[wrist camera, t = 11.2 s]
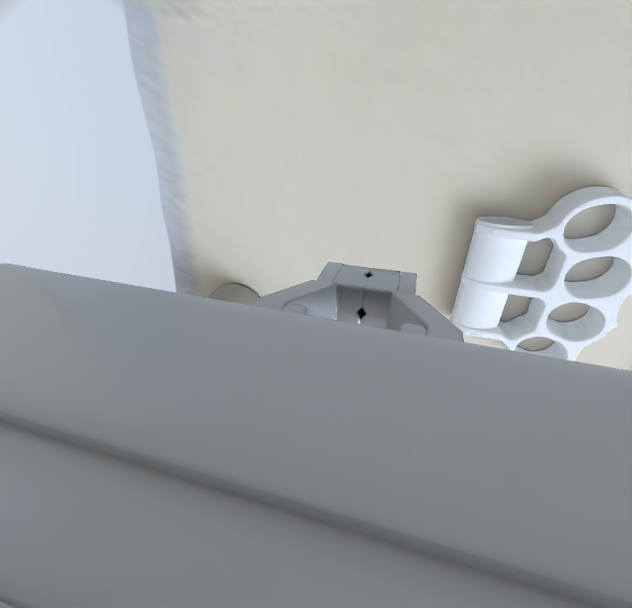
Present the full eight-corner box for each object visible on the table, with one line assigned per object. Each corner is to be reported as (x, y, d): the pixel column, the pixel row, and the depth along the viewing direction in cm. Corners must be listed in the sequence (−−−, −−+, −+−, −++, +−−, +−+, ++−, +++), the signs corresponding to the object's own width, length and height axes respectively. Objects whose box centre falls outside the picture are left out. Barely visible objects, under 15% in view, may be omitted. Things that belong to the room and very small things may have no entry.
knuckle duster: (484, 177, 30) (683, 191, 27) (442, 340, 40) (586, 365, 36) (490, 185, 28) (712, 202, 24) (443, 358, 37) (598, 387, 34)
